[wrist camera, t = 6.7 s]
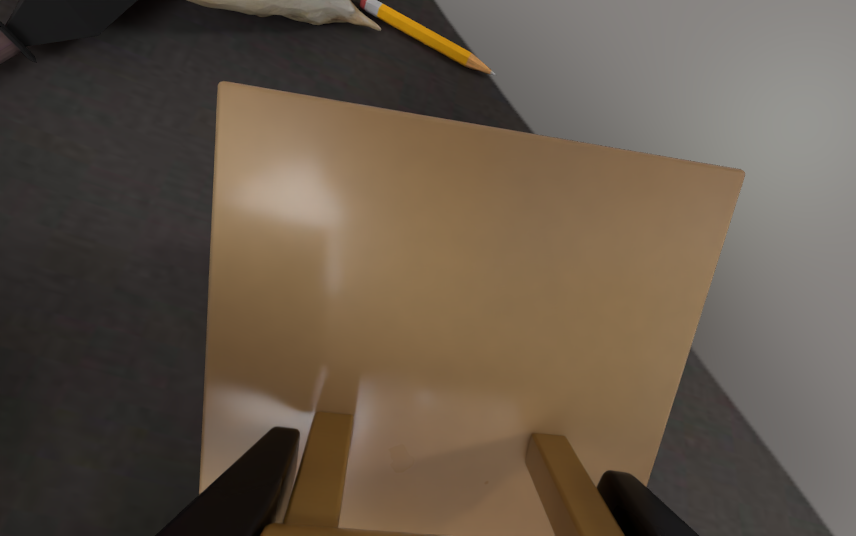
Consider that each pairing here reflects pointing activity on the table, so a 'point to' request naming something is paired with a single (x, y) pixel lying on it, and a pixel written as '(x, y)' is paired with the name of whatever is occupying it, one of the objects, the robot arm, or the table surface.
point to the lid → (447, 313)
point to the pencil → (424, 35)
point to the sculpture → (297, 10)
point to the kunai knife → (56, 23)
